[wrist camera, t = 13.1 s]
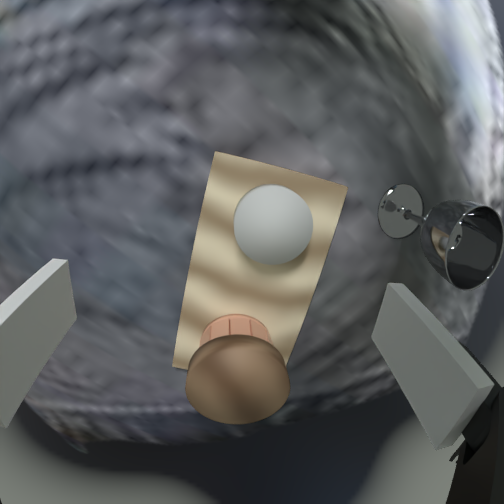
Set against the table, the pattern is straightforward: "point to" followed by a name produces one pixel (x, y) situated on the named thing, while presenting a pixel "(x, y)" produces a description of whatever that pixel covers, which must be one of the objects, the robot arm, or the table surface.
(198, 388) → the lid
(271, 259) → the light grey domed disc
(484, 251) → the wine glass
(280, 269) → the serving board
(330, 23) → the table surface
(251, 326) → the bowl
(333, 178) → the table surface
